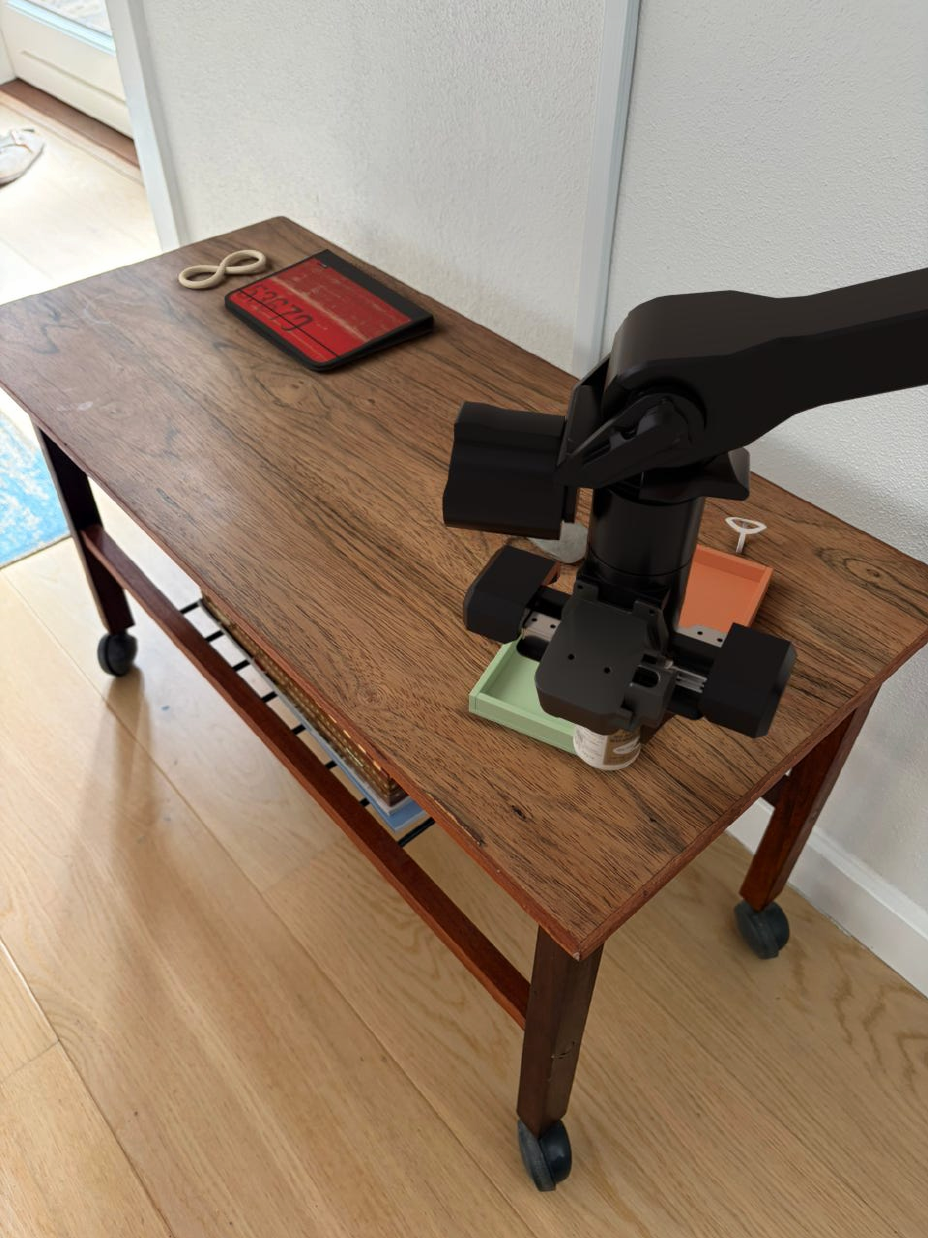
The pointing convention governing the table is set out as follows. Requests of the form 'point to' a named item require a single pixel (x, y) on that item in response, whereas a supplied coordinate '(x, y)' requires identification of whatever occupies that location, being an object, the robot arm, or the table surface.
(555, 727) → the sage tray
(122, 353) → the table surface
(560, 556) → the stone
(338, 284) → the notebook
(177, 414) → the table surface
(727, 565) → the terracotta tray
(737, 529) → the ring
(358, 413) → the table surface
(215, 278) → the decorative object
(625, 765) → the pill bottle
